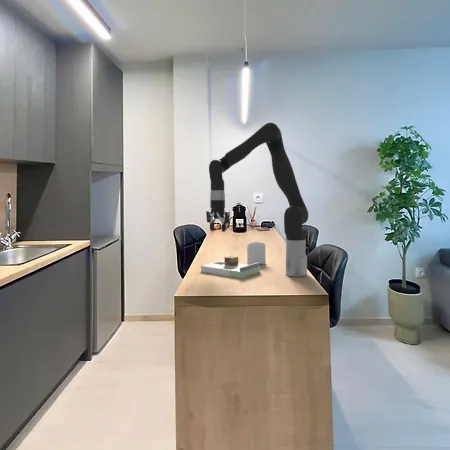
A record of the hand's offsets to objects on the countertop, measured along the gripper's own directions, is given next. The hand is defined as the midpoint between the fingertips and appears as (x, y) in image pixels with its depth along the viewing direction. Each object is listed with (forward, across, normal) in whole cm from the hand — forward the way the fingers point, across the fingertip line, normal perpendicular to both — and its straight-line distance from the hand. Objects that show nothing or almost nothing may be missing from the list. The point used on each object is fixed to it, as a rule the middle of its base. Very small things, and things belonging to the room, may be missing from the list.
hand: (218, 231), depth 196 cm
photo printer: (+20, -10, -22) cm, 31 cm away
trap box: (+20, -10, +3) cm, 22 cm away
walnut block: (+17, -8, 0) cm, 19 cm away
